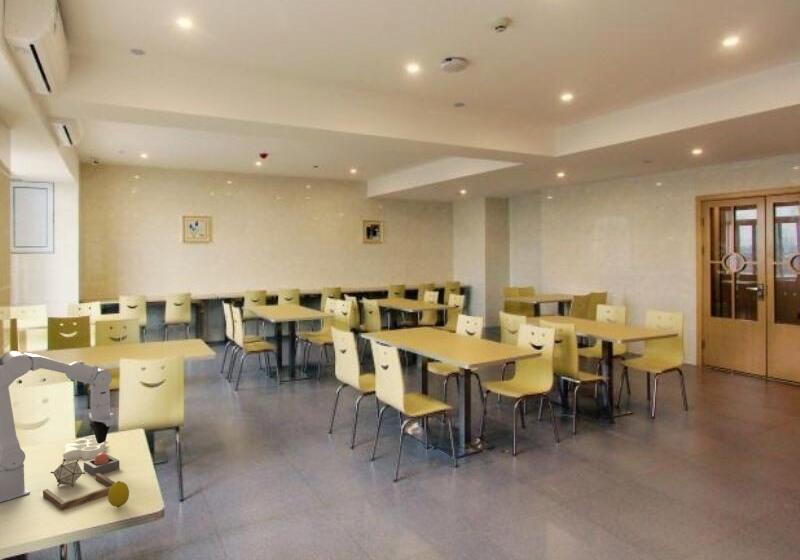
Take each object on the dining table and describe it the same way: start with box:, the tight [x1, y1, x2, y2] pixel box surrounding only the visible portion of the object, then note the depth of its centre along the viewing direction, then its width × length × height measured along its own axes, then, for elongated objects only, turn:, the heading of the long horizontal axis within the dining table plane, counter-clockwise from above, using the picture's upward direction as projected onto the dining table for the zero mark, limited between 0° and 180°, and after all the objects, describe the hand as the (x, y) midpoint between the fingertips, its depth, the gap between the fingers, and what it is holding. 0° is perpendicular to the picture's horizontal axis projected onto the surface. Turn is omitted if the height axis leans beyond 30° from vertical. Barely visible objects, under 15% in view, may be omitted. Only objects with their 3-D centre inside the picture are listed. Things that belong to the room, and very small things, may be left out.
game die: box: [49, 458, 86, 488], centre depth 172 cm, size 9×8×10 cm
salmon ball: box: [93, 452, 109, 466], centre depth 184 cm, size 4×4×4 cm
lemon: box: [107, 480, 130, 509], centre depth 157 cm, size 6×6×8 cm
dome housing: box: [83, 454, 120, 477], centre depth 184 cm, size 8×8×3 cm
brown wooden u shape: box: [42, 473, 116, 511], centre depth 166 cm, size 16×14×2 cm
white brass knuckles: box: [62, 434, 109, 460], centre depth 201 cm, size 3×18×15 cm
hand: (101, 442), depth 184 cm, fingers closed
